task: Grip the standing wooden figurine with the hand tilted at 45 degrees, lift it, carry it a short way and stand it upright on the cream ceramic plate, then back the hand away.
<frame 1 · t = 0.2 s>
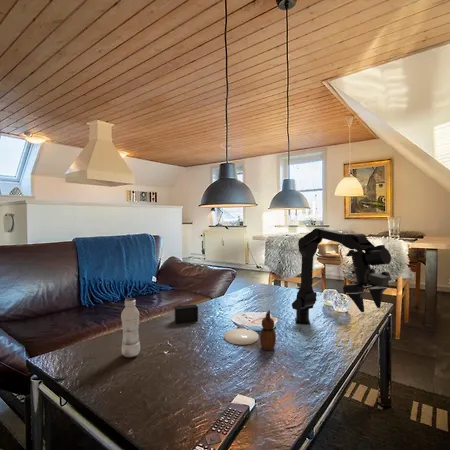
hand: (370, 310, 107), 15 cm above the table, tool pointing down, fingers open, 9 cm apart
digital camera: (186, 321, 140), on the table
ceramic plate: (241, 337, 121), on the table
wooden figurine: (267, 348, 111), on the table
plastic bottle: (131, 355, 106), on the table
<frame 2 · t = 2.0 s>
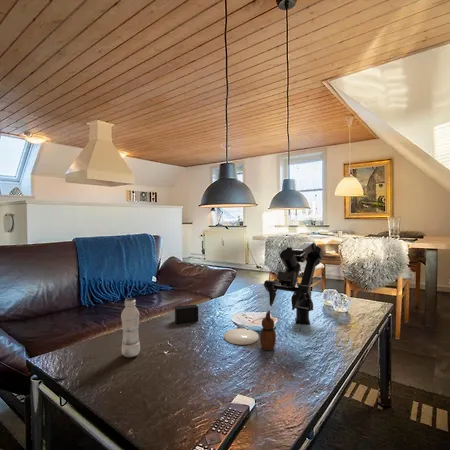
hand: (281, 307, 116), 14 cm above the table, tool tilted 45°, fingers open, 9 cm apart
nothing on the table moved.
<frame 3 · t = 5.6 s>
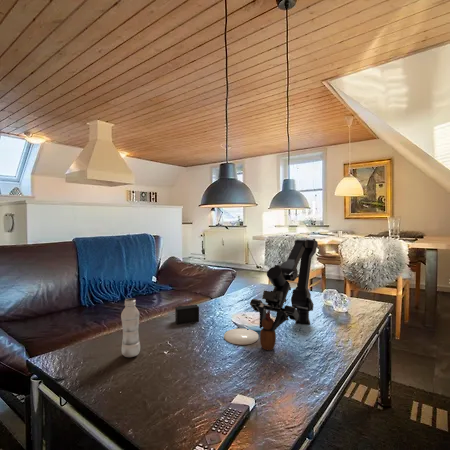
hand: (266, 329, 110), 8 cm above the table, tool tilted 45°, fingers closed on wooden figurine, 5 cm apart
wooden figurine: (267, 348, 111), on the table, touching gripper
everything else where it was.
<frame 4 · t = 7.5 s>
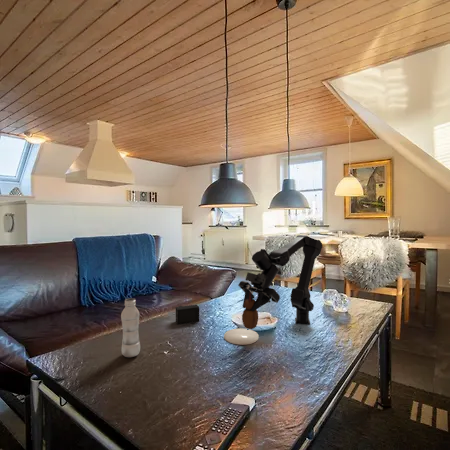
hand: (247, 309, 115), 13 cm above the table, tool tilted 45°, fingers closed on wooden figurine, 5 cm apart
wooden figurine: (250, 328, 116), point 5 cm above the table, touching gripper
everything else where it was.
when the fingers open (10 cm above the table, at t = 9.6 s): wooden figurine drops 1 cm, resting on ceramic plate.
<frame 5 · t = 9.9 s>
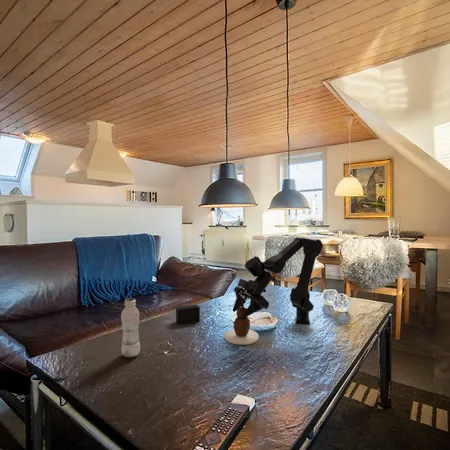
hand: (238, 313, 120), 10 cm above the table, tool tilted 45°, fingers open, 8 cm apart
wooden figurine: (241, 335, 121), point 1 cm above the table, touching ceramic plate
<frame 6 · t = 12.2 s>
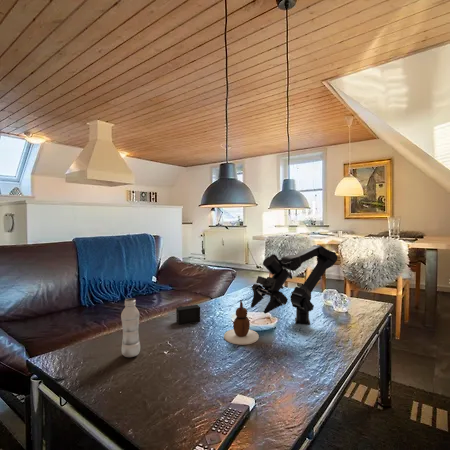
hand: (257, 309, 124), 10 cm above the table, tool tilted 45°, fingers open, 9 cm apart
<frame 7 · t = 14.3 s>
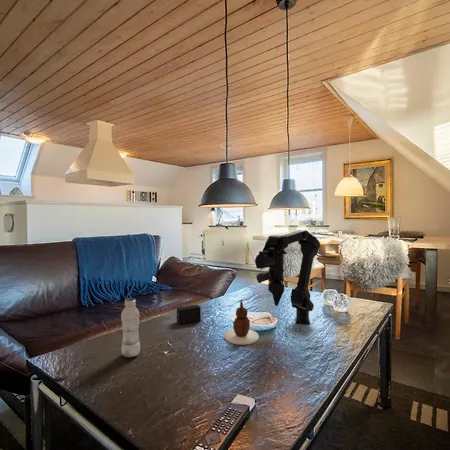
hand: (276, 302, 125), 13 cm above the table, tool pointing down, fingers open, 9 cm apart
at the end: wooden figurine inside the target area on the ceramic plate (0.1 cm from its centre), point 0.6 cm above the ceramic plate's base; wooden figurine tilted 0°; the gripper is holding nothing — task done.
